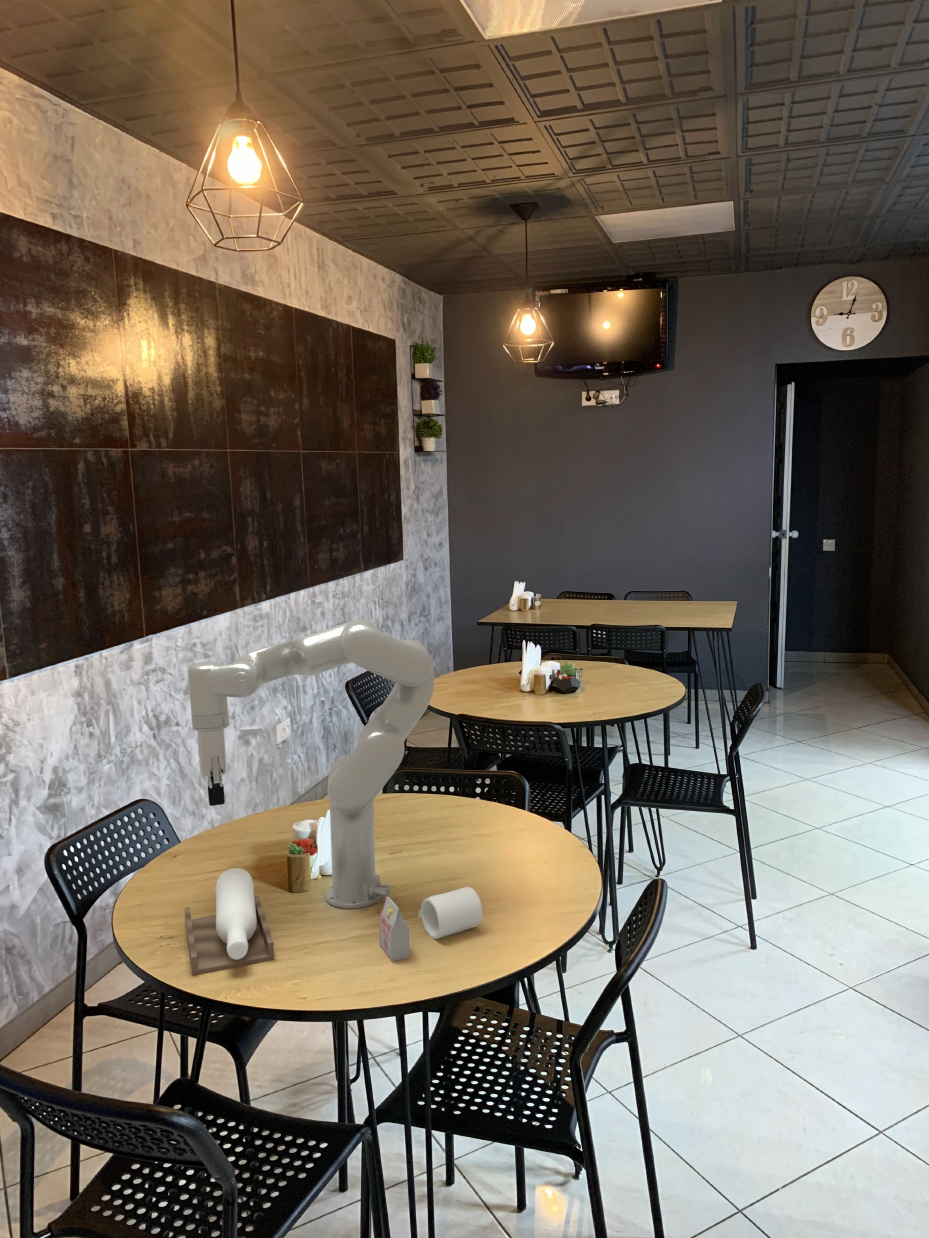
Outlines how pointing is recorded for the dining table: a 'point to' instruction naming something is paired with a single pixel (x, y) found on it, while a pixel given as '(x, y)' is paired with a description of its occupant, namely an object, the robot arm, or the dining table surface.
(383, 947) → the grey gabled box
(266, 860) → the dining table surface
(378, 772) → the robot arm
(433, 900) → the mug
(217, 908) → the bottle
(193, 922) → the u rest
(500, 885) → the dining table surface
